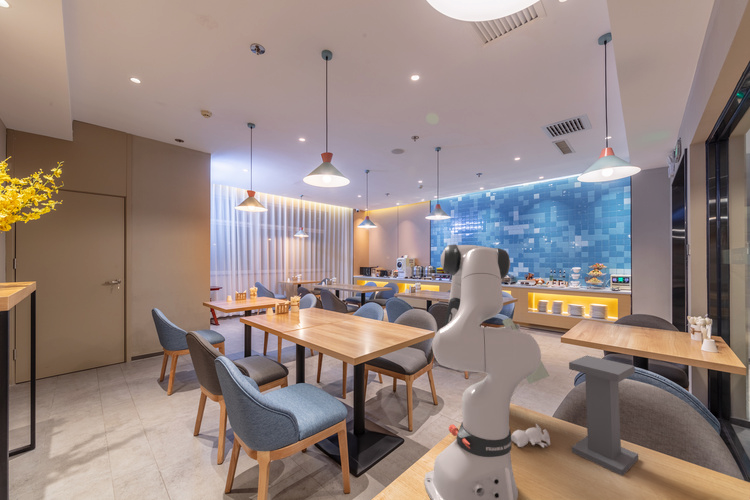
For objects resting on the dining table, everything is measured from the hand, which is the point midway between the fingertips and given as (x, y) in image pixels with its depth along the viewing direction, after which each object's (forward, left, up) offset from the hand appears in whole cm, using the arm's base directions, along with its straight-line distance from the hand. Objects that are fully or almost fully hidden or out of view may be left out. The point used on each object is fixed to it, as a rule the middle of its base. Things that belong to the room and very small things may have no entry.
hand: (515, 326), depth 111 cm
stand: (+9, -25, -32) cm, 42 cm away
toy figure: (-7, -14, -33) cm, 36 cm away
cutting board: (+1, -2, -8) cm, 8 cm away
